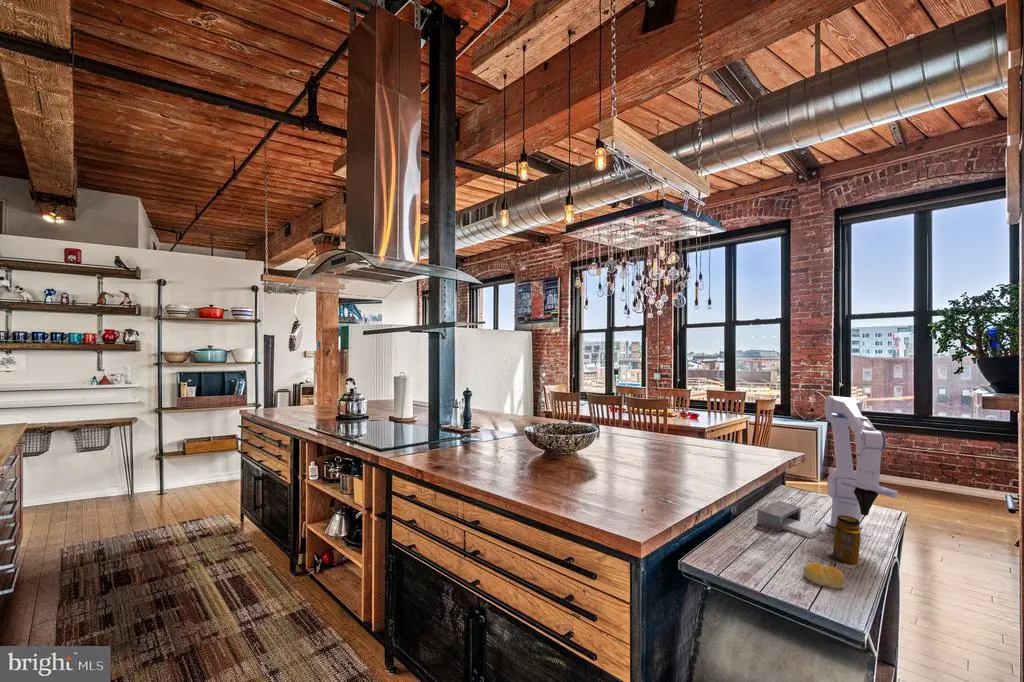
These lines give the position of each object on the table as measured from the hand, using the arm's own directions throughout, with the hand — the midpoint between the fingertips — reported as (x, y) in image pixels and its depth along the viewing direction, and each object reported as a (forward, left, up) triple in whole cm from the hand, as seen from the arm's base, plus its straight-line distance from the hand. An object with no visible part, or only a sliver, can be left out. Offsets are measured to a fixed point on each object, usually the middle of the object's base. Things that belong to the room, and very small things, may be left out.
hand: (864, 514), depth 146 cm
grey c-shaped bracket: (+4, -23, -10) cm, 25 cm away
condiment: (+16, 0, -10) cm, 19 cm away
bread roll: (+34, +1, -10) cm, 35 cm away
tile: (+4, -18, -10) cm, 21 cm away
